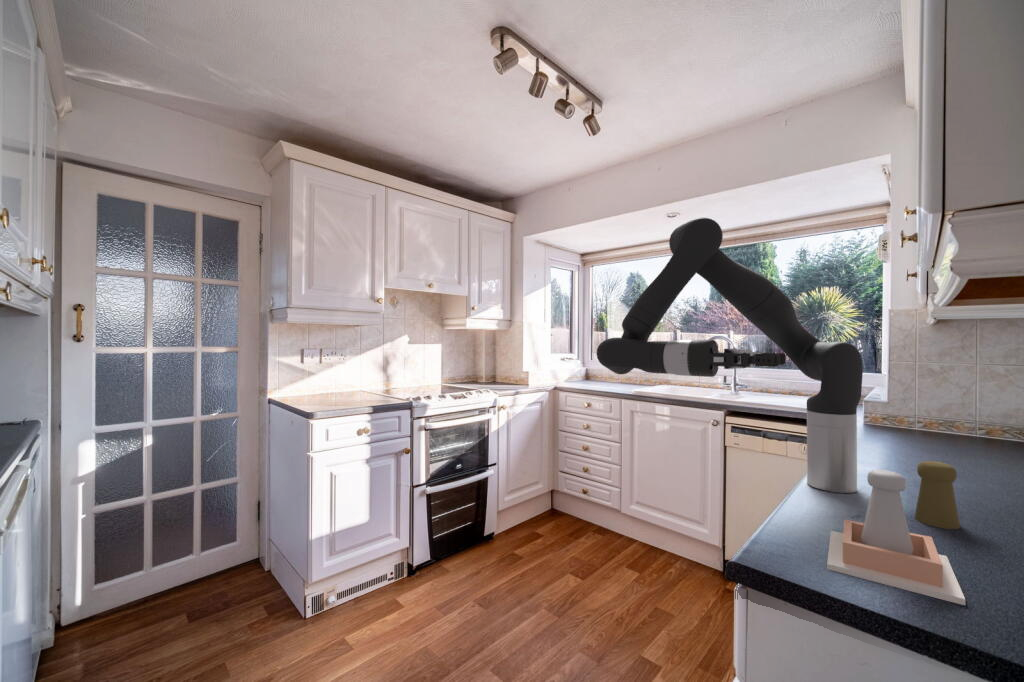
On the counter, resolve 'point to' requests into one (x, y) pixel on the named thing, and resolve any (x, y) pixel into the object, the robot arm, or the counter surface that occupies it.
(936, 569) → the tray
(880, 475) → the salt shaker
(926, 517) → the pepper shaker
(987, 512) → the counter surface
